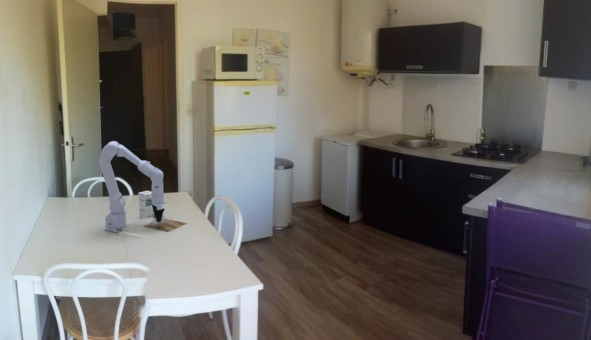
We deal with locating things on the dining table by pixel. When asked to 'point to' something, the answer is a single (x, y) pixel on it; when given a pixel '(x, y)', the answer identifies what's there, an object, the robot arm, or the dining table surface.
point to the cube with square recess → (157, 224)
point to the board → (167, 225)
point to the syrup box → (145, 204)
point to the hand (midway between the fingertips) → (158, 219)
